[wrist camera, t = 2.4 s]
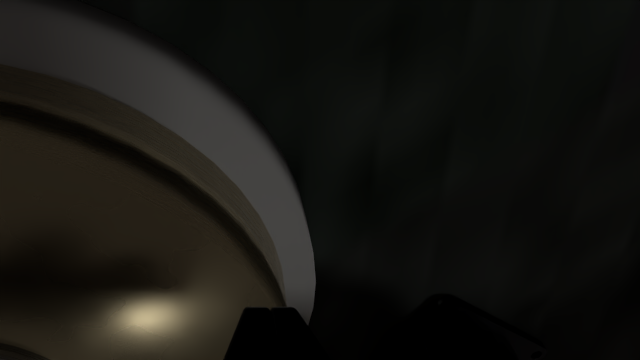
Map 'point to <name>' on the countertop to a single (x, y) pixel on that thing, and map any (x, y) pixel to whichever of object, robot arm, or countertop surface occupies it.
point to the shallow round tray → (118, 233)
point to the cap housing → (168, 110)
